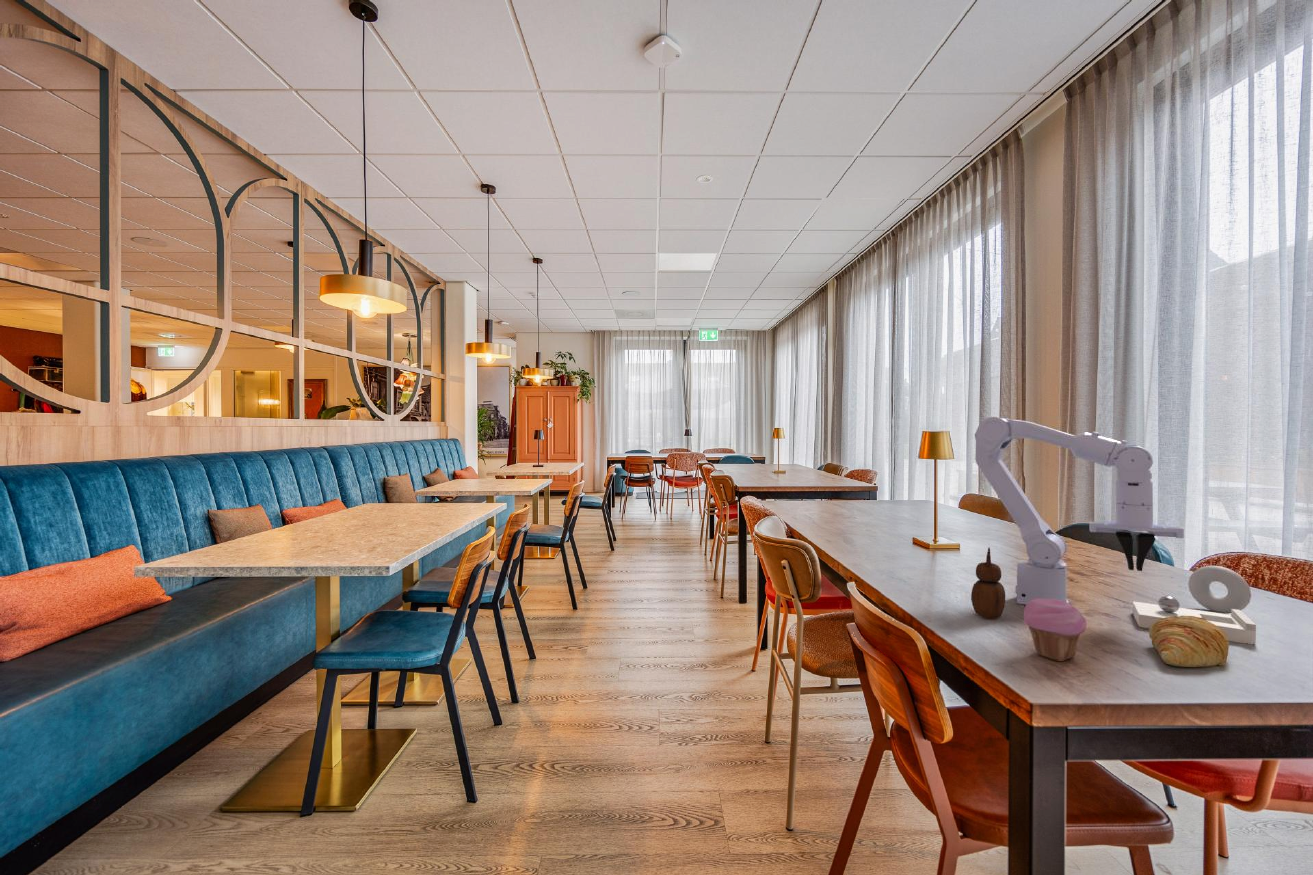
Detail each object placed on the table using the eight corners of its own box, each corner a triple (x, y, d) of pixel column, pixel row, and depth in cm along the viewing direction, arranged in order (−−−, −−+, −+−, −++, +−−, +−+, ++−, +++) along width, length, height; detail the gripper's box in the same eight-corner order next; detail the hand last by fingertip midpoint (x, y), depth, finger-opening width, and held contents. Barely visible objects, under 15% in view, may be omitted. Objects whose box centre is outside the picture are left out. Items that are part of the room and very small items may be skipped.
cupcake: (1068, 671, 89) (1069, 610, 89) (1012, 652, 97) (1013, 596, 96) (1095, 659, 93) (1095, 601, 93) (1039, 642, 101) (1040, 588, 101)
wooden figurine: (998, 623, 111) (998, 550, 110) (967, 616, 115) (967, 545, 115) (1009, 616, 115) (1009, 545, 115) (979, 609, 119) (979, 541, 119)
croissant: (1193, 697, 87) (1227, 662, 84) (1123, 650, 94) (1151, 616, 91) (1224, 662, 99) (1254, 630, 96) (1159, 622, 106) (1185, 591, 103)
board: (1139, 626, 109) (1139, 608, 109) (1132, 612, 117) (1132, 595, 117) (1255, 644, 99) (1255, 624, 99) (1239, 628, 107) (1240, 609, 107)
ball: (1159, 612, 109) (1159, 596, 109) (1156, 608, 112) (1156, 593, 112) (1181, 615, 107) (1181, 599, 107) (1178, 611, 110) (1178, 595, 110)
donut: (1254, 618, 113) (1255, 570, 113) (1245, 620, 112) (1245, 572, 112) (1193, 604, 122) (1193, 560, 122) (1184, 606, 121) (1184, 561, 121)
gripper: (1090, 503, 114) (1091, 568, 114) (1186, 508, 105) (1187, 578, 105) (1088, 500, 119) (1089, 562, 119) (1179, 504, 111) (1180, 570, 111)
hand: (1135, 569), depth 113 cm, fingers closed
